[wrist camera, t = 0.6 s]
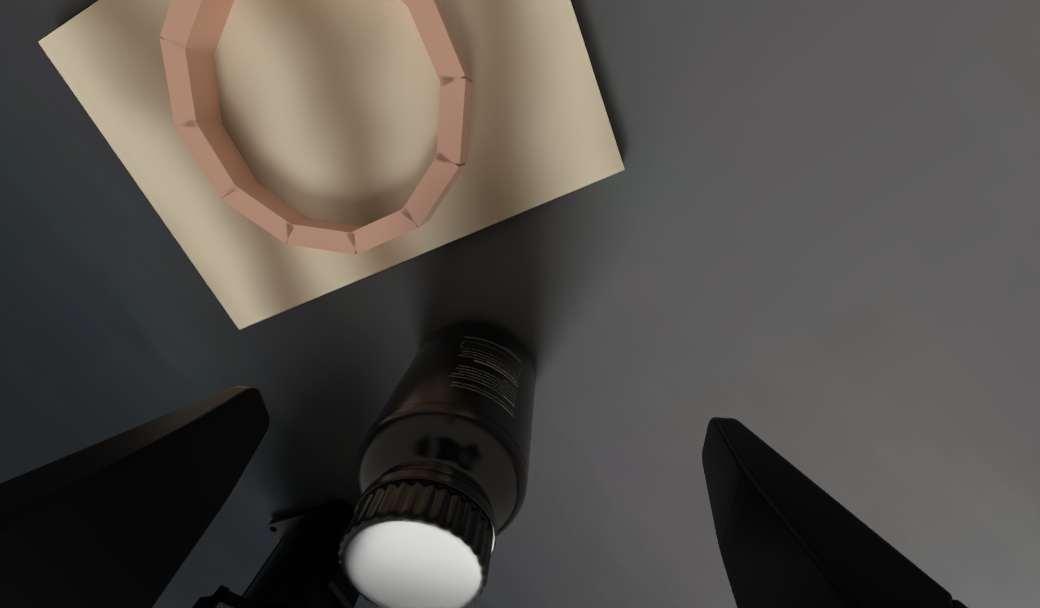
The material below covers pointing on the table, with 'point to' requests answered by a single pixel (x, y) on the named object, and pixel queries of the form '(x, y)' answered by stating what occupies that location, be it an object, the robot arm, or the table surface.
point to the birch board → (342, 127)
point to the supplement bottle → (442, 471)
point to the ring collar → (198, 117)
